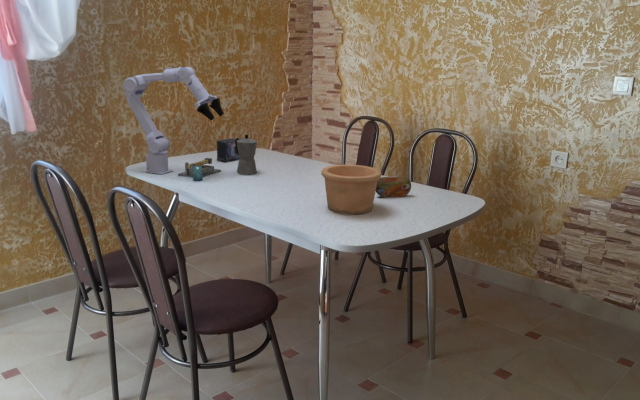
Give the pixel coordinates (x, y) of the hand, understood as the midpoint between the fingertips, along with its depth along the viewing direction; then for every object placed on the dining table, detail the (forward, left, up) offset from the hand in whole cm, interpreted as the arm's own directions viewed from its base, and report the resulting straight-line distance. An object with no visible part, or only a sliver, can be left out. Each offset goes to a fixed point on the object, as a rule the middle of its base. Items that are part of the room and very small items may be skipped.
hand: (217, 117), depth 237 cm
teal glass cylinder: (-4, -10, -27) cm, 29 cm away
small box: (-16, +32, -27) cm, 45 cm away
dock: (-11, +1, -27) cm, 29 cm away
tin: (+79, +7, -27) cm, 83 cm away
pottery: (+70, -17, -27) cm, 77 cm away
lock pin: (-11, +1, -23) cm, 26 cm away
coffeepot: (+6, +13, -27) cm, 31 cm away
